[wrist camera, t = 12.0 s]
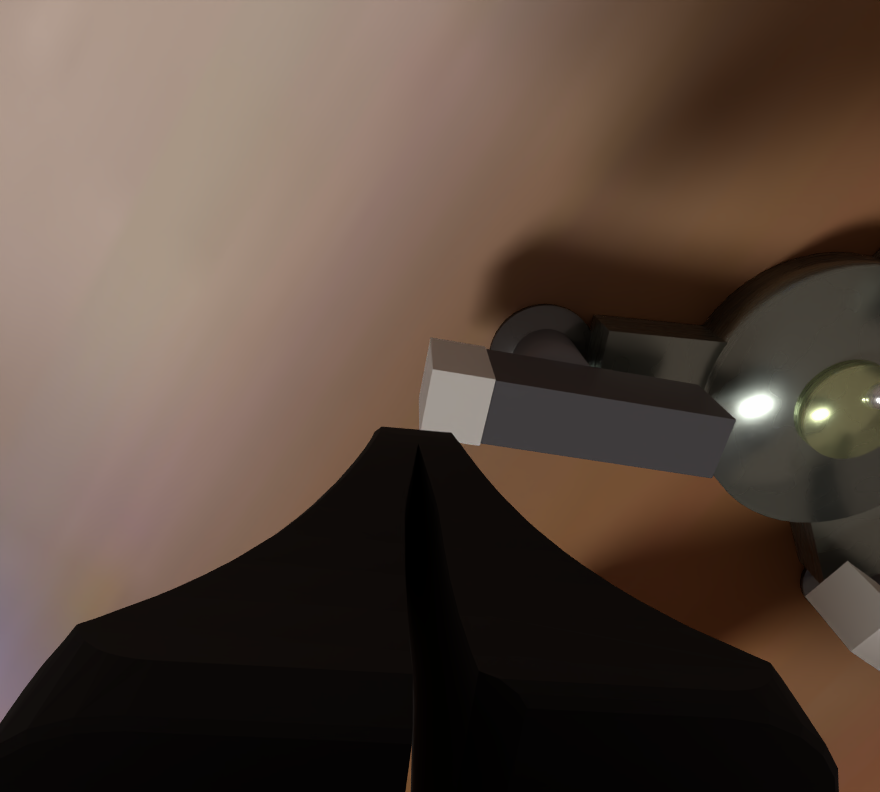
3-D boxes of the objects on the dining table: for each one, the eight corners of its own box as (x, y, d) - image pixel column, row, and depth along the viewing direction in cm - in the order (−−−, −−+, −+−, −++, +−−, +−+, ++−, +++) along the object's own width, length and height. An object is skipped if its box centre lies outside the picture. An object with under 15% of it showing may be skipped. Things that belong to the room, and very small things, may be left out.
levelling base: (868, 610, 26) (926, 672, 23) (454, 583, 25) (459, 645, 22) (1128, 90, 18) (1266, 82, 15) (541, 7, 17) (567, -17, 14)
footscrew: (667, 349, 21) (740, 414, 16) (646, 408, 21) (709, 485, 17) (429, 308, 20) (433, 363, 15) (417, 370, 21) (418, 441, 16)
